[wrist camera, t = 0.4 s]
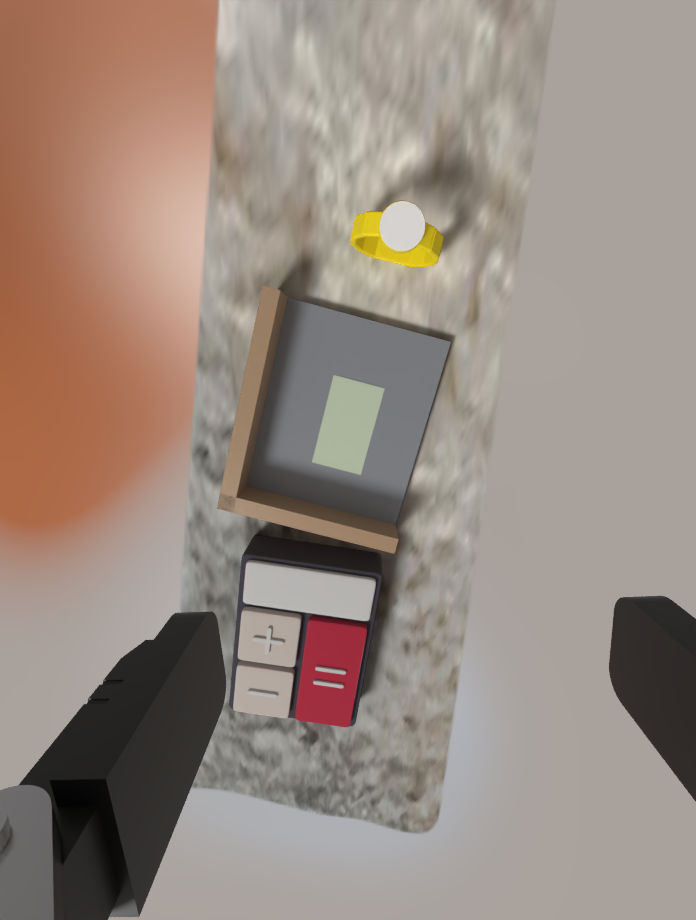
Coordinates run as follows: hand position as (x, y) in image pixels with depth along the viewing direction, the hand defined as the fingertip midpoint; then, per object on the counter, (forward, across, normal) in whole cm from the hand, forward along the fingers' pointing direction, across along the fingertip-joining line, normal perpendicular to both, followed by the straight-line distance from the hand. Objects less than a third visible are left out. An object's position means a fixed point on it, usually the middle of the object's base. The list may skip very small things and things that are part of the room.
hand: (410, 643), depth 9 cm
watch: (+26, -2, -13) cm, 29 cm away
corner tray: (+26, +3, -1) cm, 26 cm away
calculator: (+26, +7, +17) cm, 31 cm away
